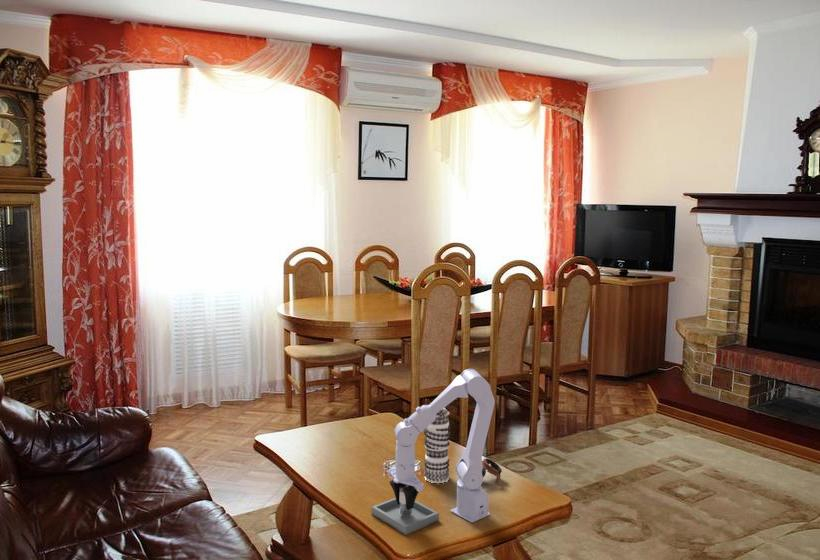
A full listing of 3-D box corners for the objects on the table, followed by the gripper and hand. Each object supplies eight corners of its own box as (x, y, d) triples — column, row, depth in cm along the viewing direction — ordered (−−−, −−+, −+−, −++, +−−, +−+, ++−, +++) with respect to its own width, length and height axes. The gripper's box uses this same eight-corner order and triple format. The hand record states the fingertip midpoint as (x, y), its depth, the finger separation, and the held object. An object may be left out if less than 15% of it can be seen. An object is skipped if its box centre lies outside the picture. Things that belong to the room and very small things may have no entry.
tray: (438, 520, 202) (438, 512, 201) (405, 535, 193) (405, 526, 193) (404, 501, 214) (404, 494, 213) (371, 514, 205) (371, 506, 205)
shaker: (415, 511, 204) (415, 486, 203) (406, 516, 201) (407, 491, 200) (404, 507, 206) (405, 482, 205) (396, 512, 203) (396, 487, 202)
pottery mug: (475, 473, 237) (487, 454, 235) (495, 491, 232) (508, 472, 231) (460, 477, 226) (473, 457, 225) (482, 496, 222) (495, 476, 220)
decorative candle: (452, 474, 234) (453, 405, 231) (446, 486, 225) (447, 413, 222) (427, 471, 236) (427, 402, 233) (420, 482, 228) (420, 411, 224)
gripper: (379, 458, 204) (379, 501, 206) (410, 474, 193) (410, 518, 195) (397, 452, 209) (397, 494, 210) (429, 467, 198) (428, 511, 200)
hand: (405, 505), depth 203 cm, fingers closed on shaker, 4 cm apart
